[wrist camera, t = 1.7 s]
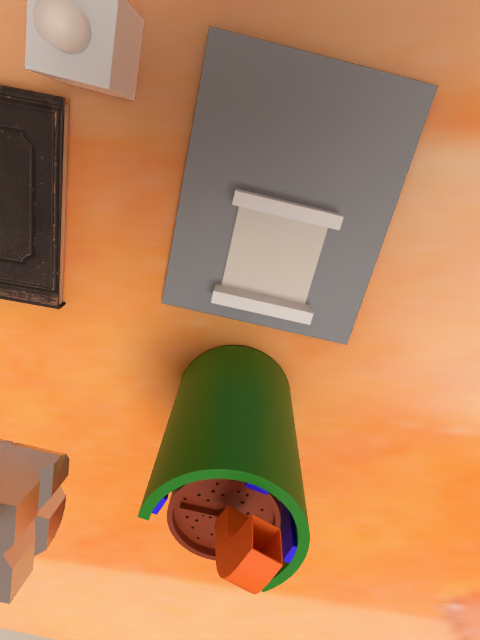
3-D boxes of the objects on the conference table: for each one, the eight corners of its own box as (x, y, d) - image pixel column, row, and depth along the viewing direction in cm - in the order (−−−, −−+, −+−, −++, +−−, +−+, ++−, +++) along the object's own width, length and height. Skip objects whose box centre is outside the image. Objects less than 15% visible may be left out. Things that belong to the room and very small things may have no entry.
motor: (168, 406, 40) (95, 624, 22) (205, 327, 37) (158, 500, 19) (265, 446, 42) (276, 683, 23) (309, 371, 39) (362, 575, 20)
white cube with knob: (71, 2, 29) (9, -51, 22) (144, 21, 29) (108, -25, 22) (65, 83, 31) (6, 61, 23) (134, 100, 31) (97, 84, 24)
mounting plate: (210, 29, 29) (206, 17, 27) (433, 87, 30) (450, 81, 28) (163, 300, 36) (156, 311, 34) (345, 340, 37) (351, 354, 35)
